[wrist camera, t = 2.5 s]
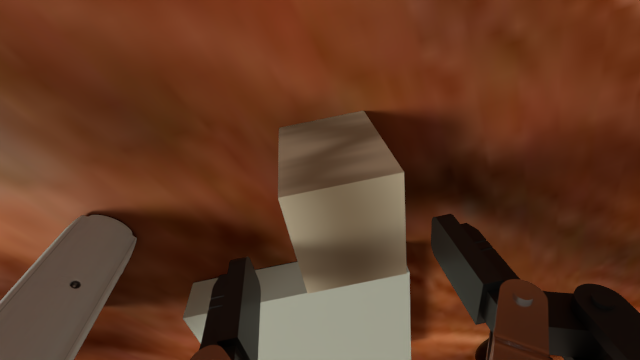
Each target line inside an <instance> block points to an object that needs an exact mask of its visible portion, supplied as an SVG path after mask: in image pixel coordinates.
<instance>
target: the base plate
mask: <svg viewBox="0 0 640 360" xmlns="http://www.w3.org/2000/svg"><path fill="white" fill-rule="evenodd" d="M406 268H407V274H402V275H397V276H392V277H388V278H383V279H378V280H373V281H368V282H363V283H358V284H353V285H348V286H343V287H338V288H333V289H328V290H324V291H319V292H314V293H309V294H308V293H307V290H306V287H305V284H304V280H303V277H302V274H301V271H300V268H299V264H298V262H293V263H288V264H284V265H279V266H274V267H269V268H264V269H259V270H255V272H256V274H257V277H258V279H259V283H260V288H261V303H260V324H259V346H258V360H411V327H410V272H409V270H408V267H407V265H406ZM217 279H218V278H215V279H210V280H205V281H200V282H195V283H193V285H192V289H191V292H190V296H189V299H188V302H187V306H186V309H185V313H184V316H183V319H184V321H185V322H186V323H187V325H188V326H189V328H190V329H191V330H192V332H193V333H194V335H195V336H196V337H197V339H198V340H199V342H200V343H201V341H202V336H203V331H204V327H205V322H206V317H207V312H208V310H209V303H210V300H211V293H212V289H213V286H214V284H215V283H216V281H217Z"/></svg>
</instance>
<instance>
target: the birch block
mask: <svg viewBox="0 0 640 360" xmlns="http://www.w3.org/2000/svg"><path fill="white" fill-rule="evenodd" d="M278 199H279V203H280V206H281V209H282V212H283V216H284V219H285V222H286V225H287V229H288V232H289V235H290V238H291V242H292V245H293V248H294V251H295V255H296V258H297V261H298V264H299V268H300V271H301V274H302V277H303V280H304V284H305V287H306V290H307V293H308V294H309V293H314V292H319V291H324V290H328V289H333V288H338V287H343V286H348V285H353V284H358V283H363V282H368V281H373V280H378V279H383V278H388V277H392V276H397V275H402V274H407V268H406V227H405V187H404V171H403V170H402V168H401V167H400V165H399V164H398V162H397V161H396V159H395V158H394V156H393V154H392V153H391V151H390V150H389V148H388V147H387V145H386V144H385V142H384V141H383V139H382V138H381V136H380V135H379V133H378V132H377V130H376V129H375V127H374V126H373V124H372V123H371V121H370V120H369V118H368V117H367V115H366V114H365V112H364V111H360V112H355V113H350V114H345V115H340V116H335V117H331V118H326V119H321V120H316V121H311V122H306V123H301V124H296V125H292V126H287V127H282V128H279V166H278Z"/></svg>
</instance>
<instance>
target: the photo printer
mask: <svg viewBox="0 0 640 360" xmlns="http://www.w3.org/2000/svg"><path fill="white" fill-rule="evenodd" d="M136 241H137V238H136V237H134V236H133V235H132V231H131V230H130V229H129V228H128V227H127V226H126V225H125V224H123V223H122V222H120V221H118V220H116V219H113V218H111V217H107V216H103V215H90V216H85V215H81V216H80V217H78V218H77V219H76V220H75V221H73V222H72V223H71V224H70V225H69V226H68V227H67V228H66V229H65V230H64V231H63V232H62V233H61V234H60V235H59V236H58V237H57V239H56V240H55V241H54V242H53V243H52V244H51V245H50V246H49V247H48V248H47V249H46V251H45V252H44V253H43V254H42V255H41V256H40V257H39V258H38V259H37V261H36V262H35V263H34V264H33V265H32V266H31V267H30V268H29V270H28V271H27V272H26V273H25V274H24V275H23V276H22V277H21V279H20V280H19V281H18V282H17V283H16V284H15V285H14V286H13V287H12V289H11V290H10V291H9V292H8V293H7V294H6V295H5V296H4V298H3V299H2V300H1V301H0V360H74V358H75V357H76V355H77V353H78V351H79V349H80V348H81V346H82V344H83V342H84V340H85V339H86V337H87V335H88V333H89V331H90V330H91V328H92V326H93V324H94V322H95V321H96V319H97V317H98V315H99V313H100V312H101V310H102V308H103V306H104V304H105V302H106V301H107V299H108V297H109V295H110V293H111V292H112V290H113V288H114V286H115V284H116V283H117V281H118V279H119V277H120V275H121V274H122V273H123V271H124V268H125V267H126V265H127V263H128V261H129V259H130V257H131V255H132V253H133V250H134V247H135V244H136Z"/></svg>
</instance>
